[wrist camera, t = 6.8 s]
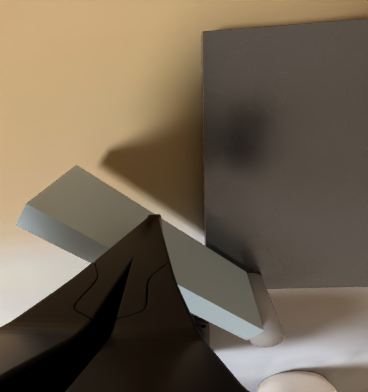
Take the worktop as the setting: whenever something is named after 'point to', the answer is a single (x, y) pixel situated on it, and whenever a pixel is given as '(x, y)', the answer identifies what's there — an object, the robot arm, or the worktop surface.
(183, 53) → the worktop surface
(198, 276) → the door
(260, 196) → the console
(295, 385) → the alcohol
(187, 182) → the worktop surface
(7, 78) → the worktop surface
